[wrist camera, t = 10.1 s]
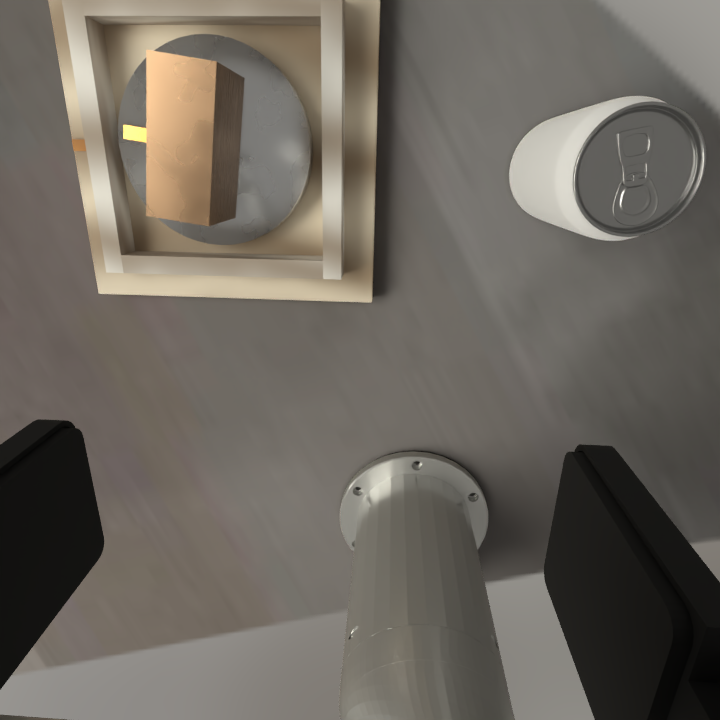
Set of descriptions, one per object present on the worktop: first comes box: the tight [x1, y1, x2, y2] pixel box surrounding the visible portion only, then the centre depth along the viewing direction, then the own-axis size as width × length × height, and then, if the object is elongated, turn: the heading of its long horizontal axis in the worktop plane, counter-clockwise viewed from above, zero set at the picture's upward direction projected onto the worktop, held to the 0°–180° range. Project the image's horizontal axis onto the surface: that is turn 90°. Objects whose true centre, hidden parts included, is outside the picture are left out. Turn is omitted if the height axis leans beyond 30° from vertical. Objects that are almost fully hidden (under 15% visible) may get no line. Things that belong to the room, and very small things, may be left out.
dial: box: [118, 34, 313, 245], centre depth 29 cm, size 12×12×7 cm
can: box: [509, 96, 706, 241], centre depth 28 cm, size 6×6×12 cm
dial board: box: [48, 0, 381, 303], centre depth 33 cm, size 20×20×4 cm
